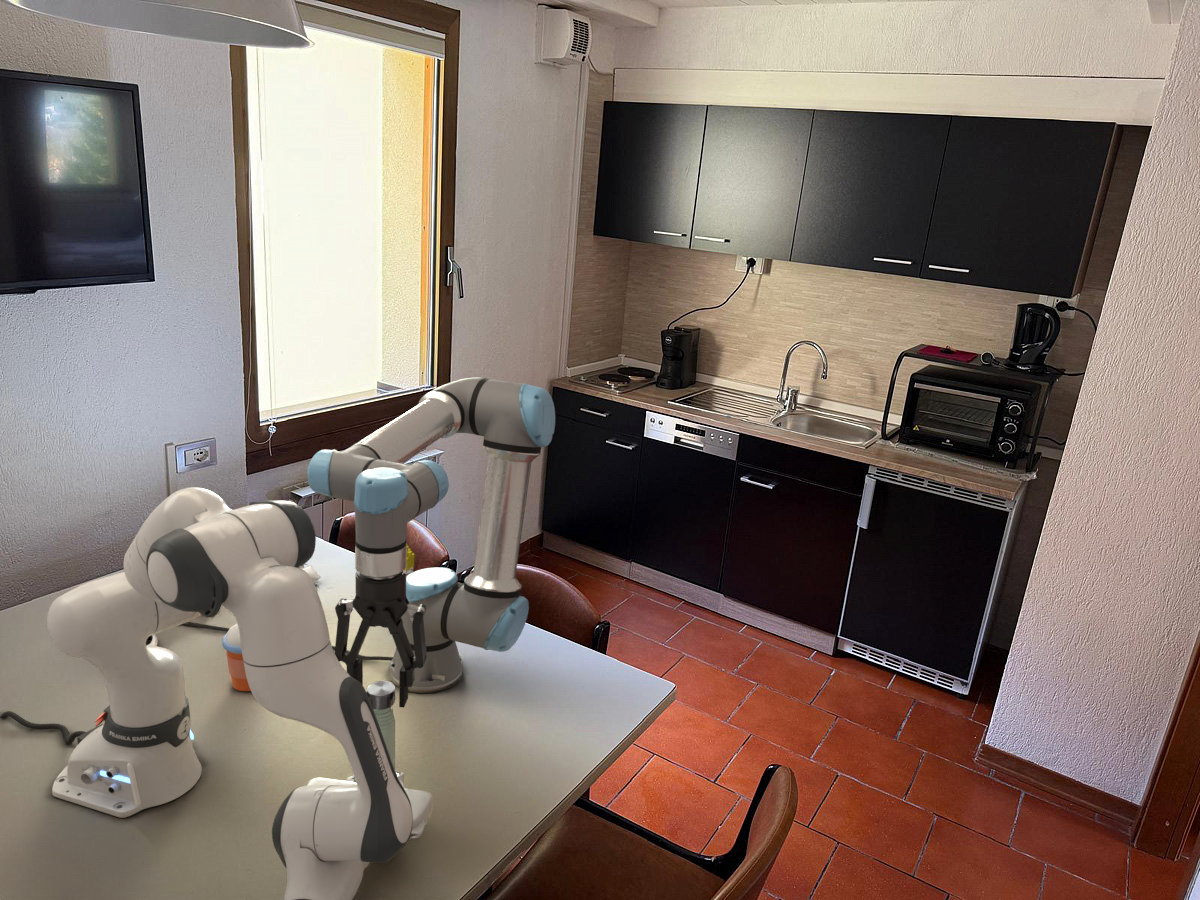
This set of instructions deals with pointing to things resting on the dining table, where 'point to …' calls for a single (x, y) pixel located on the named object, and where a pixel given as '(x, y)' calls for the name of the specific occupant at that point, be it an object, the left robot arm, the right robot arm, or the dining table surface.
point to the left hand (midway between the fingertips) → (382, 773)
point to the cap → (381, 694)
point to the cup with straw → (235, 659)
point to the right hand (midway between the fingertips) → (380, 700)
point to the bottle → (387, 729)
